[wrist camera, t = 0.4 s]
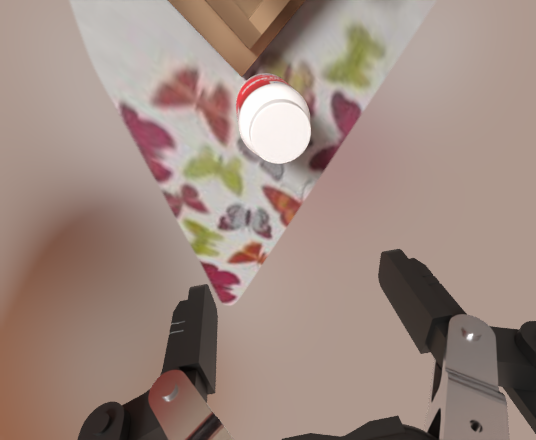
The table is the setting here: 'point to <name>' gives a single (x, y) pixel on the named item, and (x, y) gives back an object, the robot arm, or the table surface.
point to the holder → (238, 25)
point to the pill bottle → (273, 118)
